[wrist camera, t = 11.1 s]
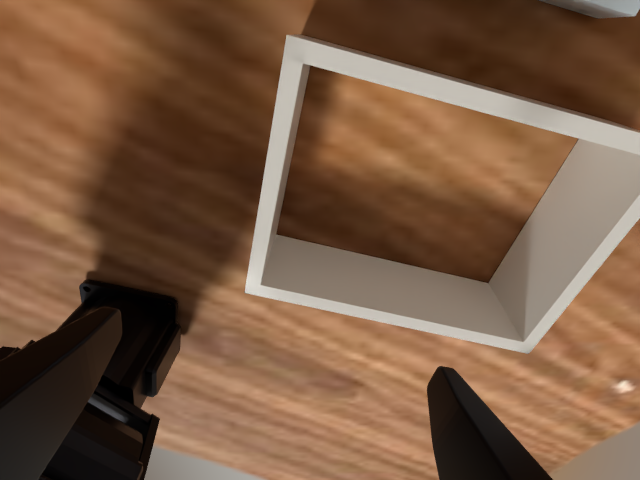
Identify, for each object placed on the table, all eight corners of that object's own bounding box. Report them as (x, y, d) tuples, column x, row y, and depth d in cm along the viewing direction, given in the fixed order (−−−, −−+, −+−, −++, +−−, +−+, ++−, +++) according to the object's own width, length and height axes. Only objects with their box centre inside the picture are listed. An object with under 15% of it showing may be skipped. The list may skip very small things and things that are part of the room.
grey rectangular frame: (263, 241, 22) (244, 292, 17) (300, 34, 16) (286, 34, 11) (493, 293, 23) (528, 353, 18) (605, 119, 17) (696, 148, 13)
